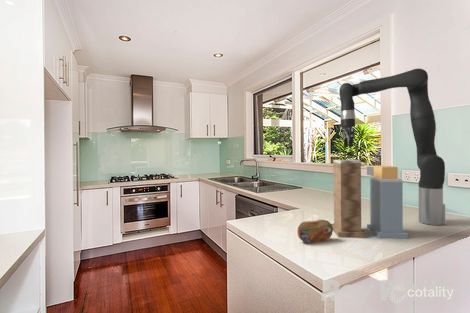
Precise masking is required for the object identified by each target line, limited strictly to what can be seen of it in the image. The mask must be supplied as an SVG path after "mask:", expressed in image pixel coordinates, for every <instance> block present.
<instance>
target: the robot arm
mask: <svg viewBox="0 0 470 313" xmlns="http://www.w3.org/2000/svg"><path fill="white" fill-rule="evenodd" d="M428 85H429V75H428V72H427V71H426V70H425V69H423V68H414V69H411V70H407V71H405V72H402V73H398V74H394V75H390V76H384V77H380V78H379V77H378V78H373V79H368V80H362V81H360V82H359V83H354V84H352V83H350V82H344V83H342V84H341V85H340V87H339V89H338V90H339V99H340V128H343V129H342V131H341V135H342V136H341V140H342V141H343V147H344V148H353V147H354V139H355V138H356V134H355V127H356V111H355V109H356V108H355V101H354V99H353V98H354V97H356V96H360V95H366V94H374V93H378V92H382V91H386V90H390V89H396V88H407V93H408V95H409V101H410V110H409V115H410V116H409V117H410V124H411V129H412V130H411V131H412V134H413V138H414V141H415V145H416V164H417V165H416V166H417V167H418V169H419V173H420V174H419V181H418V222H419V223H422V224H426V225H431V226H442V225H446V204H445V203H444V183H445V181H446V180H445V179H446V178H445V176H446V164H445V161H444V159H443V158H442V157H441V156H439V155H438V154H437V151H436V145H435V139H436V131H437V125H436V124H437V123H436V117H435V113H434V110H433V106H432V103H431V101H430V97H429V88H428V87H429V86H428Z"/></svg>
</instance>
